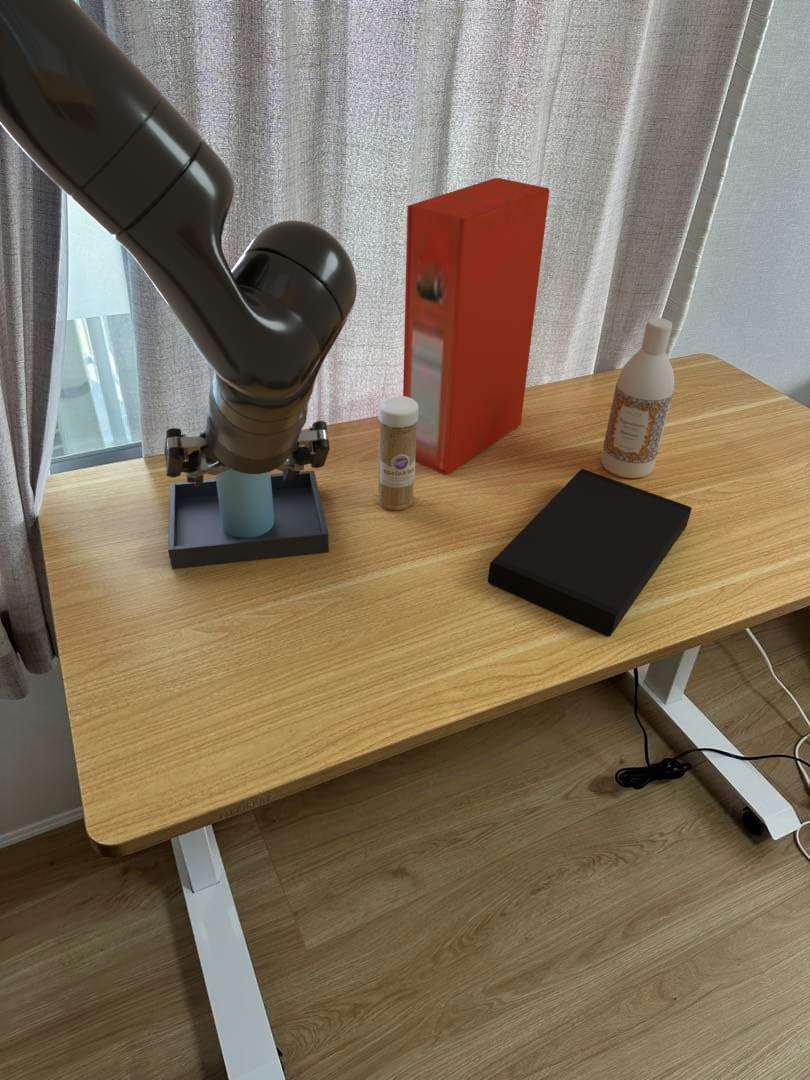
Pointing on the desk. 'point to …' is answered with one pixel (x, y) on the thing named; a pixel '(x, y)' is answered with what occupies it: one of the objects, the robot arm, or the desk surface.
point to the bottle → (245, 503)
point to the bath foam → (640, 406)
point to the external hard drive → (590, 550)
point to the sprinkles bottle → (397, 451)
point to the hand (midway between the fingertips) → (242, 474)
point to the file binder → (470, 315)
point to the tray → (207, 543)
